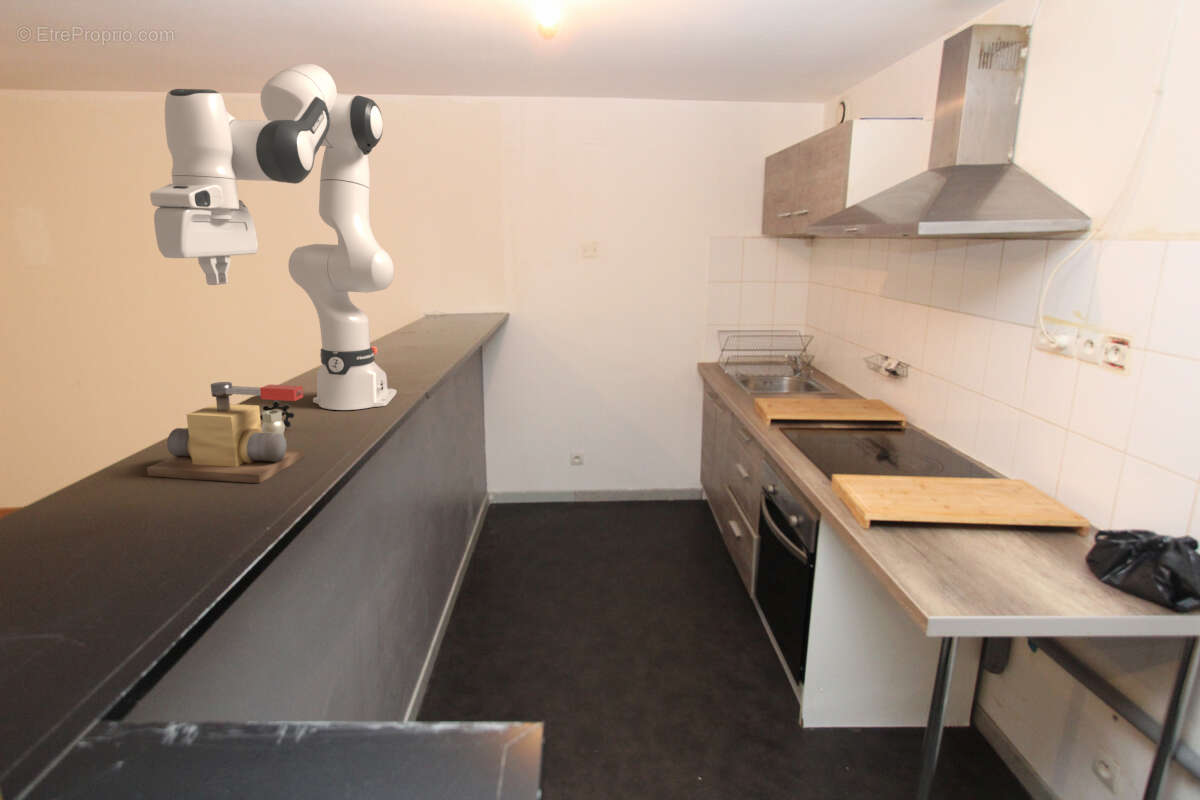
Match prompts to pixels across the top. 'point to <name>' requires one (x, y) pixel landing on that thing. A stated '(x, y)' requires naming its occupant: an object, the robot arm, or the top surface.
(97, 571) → the top surface
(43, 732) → the top surface
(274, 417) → the valve
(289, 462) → the valve manifold
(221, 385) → the valve lever
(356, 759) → the top surface
